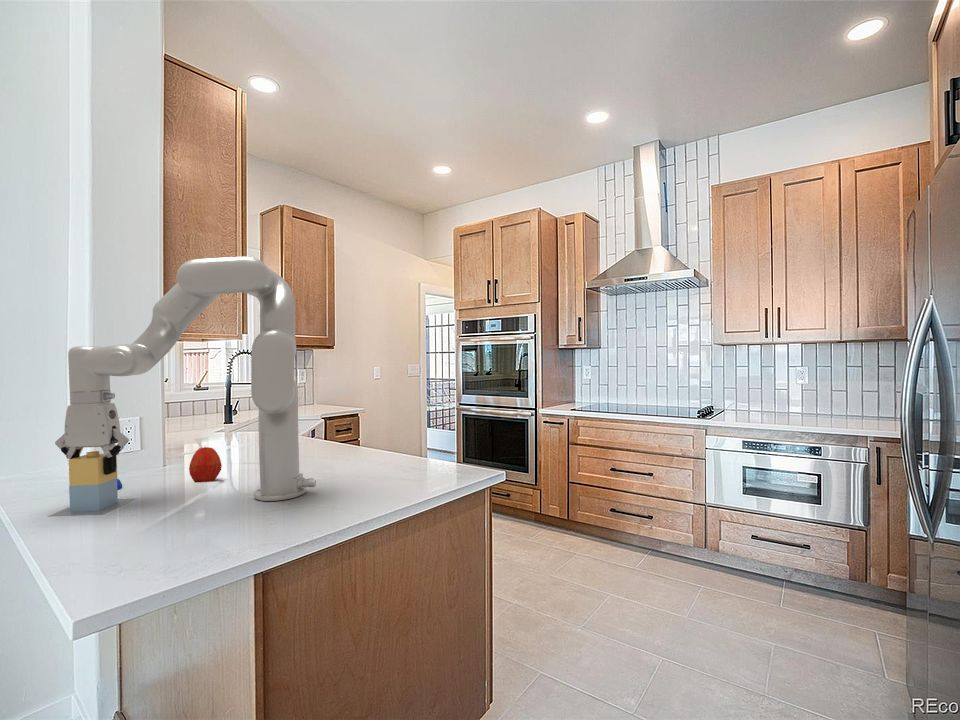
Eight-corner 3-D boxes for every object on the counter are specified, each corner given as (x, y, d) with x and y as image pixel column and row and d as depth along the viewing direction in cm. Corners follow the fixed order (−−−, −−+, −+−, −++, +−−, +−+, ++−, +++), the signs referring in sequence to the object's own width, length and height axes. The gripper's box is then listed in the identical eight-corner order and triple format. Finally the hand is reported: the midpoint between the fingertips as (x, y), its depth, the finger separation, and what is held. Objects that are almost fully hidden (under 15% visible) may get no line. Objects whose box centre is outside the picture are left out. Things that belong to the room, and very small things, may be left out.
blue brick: (117, 502, 120) (116, 473, 120) (99, 510, 114) (97, 480, 114) (90, 503, 120) (89, 474, 120) (70, 511, 113) (68, 481, 113)
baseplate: (137, 503, 123) (136, 494, 123) (103, 519, 111) (103, 509, 111) (87, 504, 123) (86, 496, 122) (47, 521, 111) (47, 511, 110)
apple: (228, 481, 143) (227, 444, 143) (199, 488, 136) (197, 449, 136) (212, 477, 147) (211, 441, 147) (183, 484, 140) (182, 446, 140)
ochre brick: (117, 477, 120) (116, 448, 120) (98, 484, 114) (97, 454, 114) (90, 478, 120) (88, 449, 120) (69, 485, 113) (68, 455, 113)
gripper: (138, 396, 121) (141, 468, 121) (64, 398, 120) (67, 471, 120) (118, 399, 113) (121, 476, 113) (38, 401, 112) (41, 479, 112)
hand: (93, 473), depth 117 cm, fingers open, 6 cm apart
